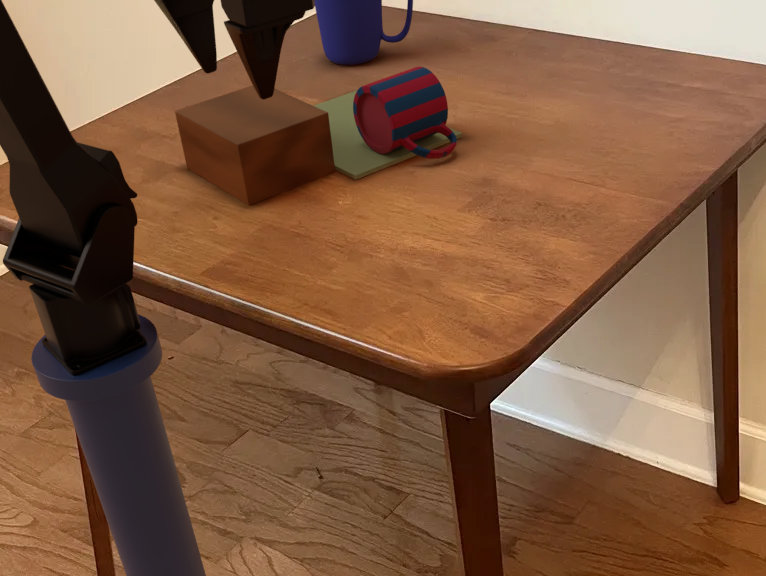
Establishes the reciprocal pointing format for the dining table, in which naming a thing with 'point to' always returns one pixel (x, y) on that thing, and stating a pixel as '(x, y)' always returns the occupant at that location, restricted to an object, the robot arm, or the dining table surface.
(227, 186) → the step
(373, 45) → the mug
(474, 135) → the dining table surface
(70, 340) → the robot arm
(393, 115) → the cup
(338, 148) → the mat
